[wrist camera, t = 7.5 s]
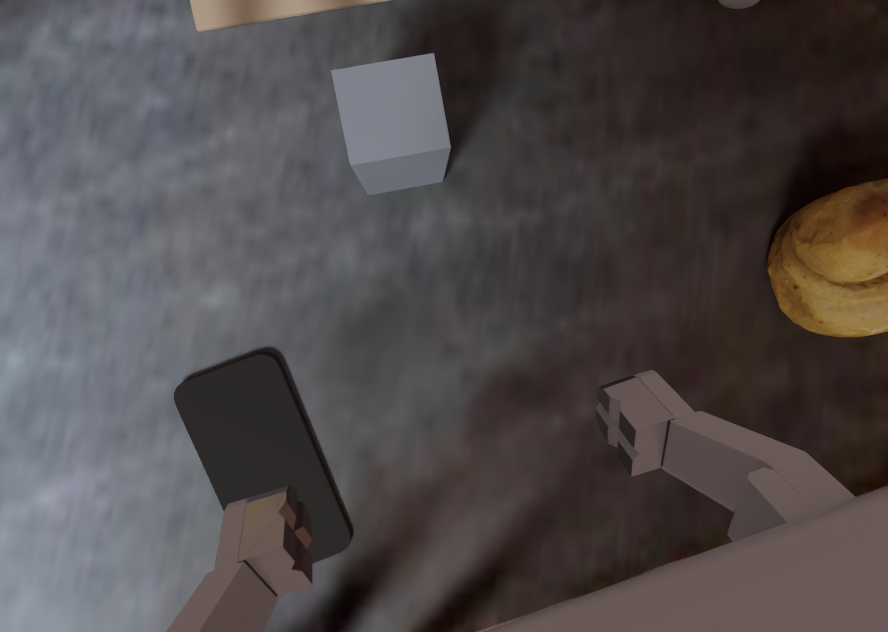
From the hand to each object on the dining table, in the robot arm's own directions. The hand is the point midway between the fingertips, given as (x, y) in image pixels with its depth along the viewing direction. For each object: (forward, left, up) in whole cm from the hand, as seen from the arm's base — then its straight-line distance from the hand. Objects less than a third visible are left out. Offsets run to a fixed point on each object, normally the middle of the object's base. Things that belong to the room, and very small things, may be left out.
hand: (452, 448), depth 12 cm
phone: (-13, -6, -20) cm, 25 cm away
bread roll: (+29, 0, -20) cm, 35 cm away
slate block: (0, +13, -20) cm, 23 cm away
